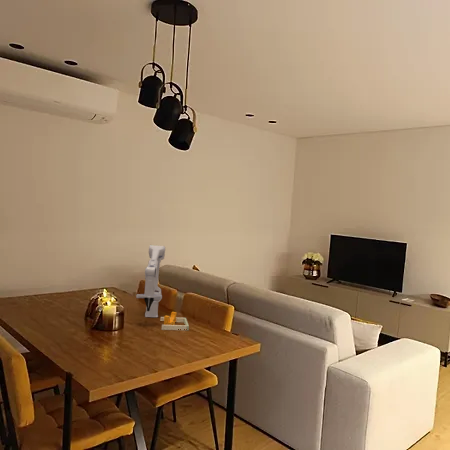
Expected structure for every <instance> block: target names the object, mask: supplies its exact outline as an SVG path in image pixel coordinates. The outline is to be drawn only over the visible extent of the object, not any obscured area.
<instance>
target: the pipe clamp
mask: <svg viewBox="0 0 450 450" xmlns="http://www.w3.org/2000/svg"><path fill="white" fill-rule="evenodd" d="M177 314H178V312H177V311H172V312H171V313H170V315H164V316H163V317H164V322H163V325H176V323H177V322H176V317H177ZM175 322H176V323H175Z"/></svg>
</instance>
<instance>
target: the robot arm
mask: <svg viewBox="0 0 450 450" xmlns="http://www.w3.org/2000/svg"><path fill="white" fill-rule="evenodd" d="M165 253H166V246H165V245H157V244H156V245H152V244H150V245H149V247H148V255H149V256H148V257H149V258H150V259H149V260H148V264H147V266H146V267H145V269H144V276H145V277H144V279H145V281H144V283H145V284H144V293H140V294H139V293H137V294H136V295H135V296H136V299H144V300H143V301H144V303H145V306H146V307H145V312H144V318H159V315H158V314H159V313H158V311H159V302H160V301H161V300H162V299H163V295H162V288H160V287H159V286H158V284H159V276H160V266H161V261H162V260H164V259H165V255H166V254H165Z"/></svg>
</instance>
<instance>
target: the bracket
mask: <svg viewBox="0 0 450 450" xmlns="http://www.w3.org/2000/svg"><path fill="white" fill-rule="evenodd" d="M160 321H164V316H160ZM160 321H159V322H160ZM176 323H183V324H185V325H181V324H180V325H179V324H175V325H164V324H161V330H162V331H190V326H189V323H188V319H187V317H177V316H176ZM178 329H179V330H178ZM180 329H181V330H180ZM184 329H185V330H184ZM186 329H187V330H186Z"/></svg>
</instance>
